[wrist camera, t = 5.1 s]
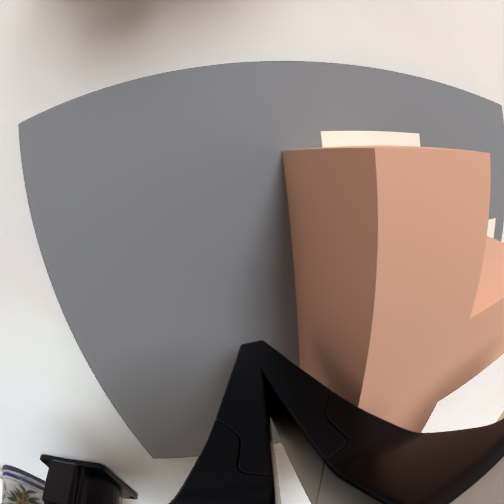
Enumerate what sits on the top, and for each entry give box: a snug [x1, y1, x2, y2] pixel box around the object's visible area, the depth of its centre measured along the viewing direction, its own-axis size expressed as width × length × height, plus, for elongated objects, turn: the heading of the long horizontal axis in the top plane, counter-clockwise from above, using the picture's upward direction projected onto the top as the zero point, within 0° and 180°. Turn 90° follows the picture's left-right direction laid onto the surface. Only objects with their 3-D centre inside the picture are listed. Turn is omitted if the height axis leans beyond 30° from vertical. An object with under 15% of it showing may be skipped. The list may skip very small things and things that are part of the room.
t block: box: [282, 145, 504, 433], centre depth 9 cm, size 12×10×5 cm
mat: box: [19, 61, 504, 458], centre depth 11 cm, size 18×23×1 cm
